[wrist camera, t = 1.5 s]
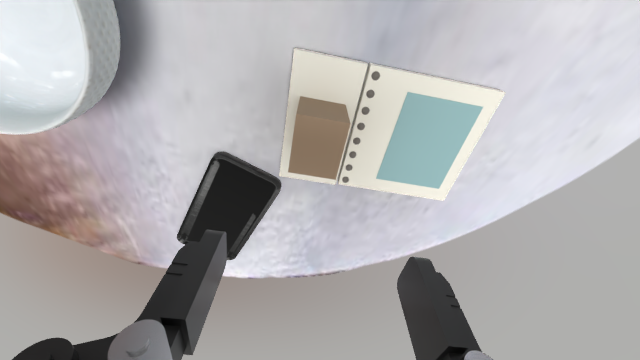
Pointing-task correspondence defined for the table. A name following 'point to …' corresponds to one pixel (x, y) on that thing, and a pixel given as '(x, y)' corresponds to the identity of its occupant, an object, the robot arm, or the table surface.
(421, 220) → the table surface
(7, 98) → the cereal bowl
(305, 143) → the brown cream block
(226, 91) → the table surface
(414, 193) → the ticket pad
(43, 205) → the table surface
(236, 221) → the phone
